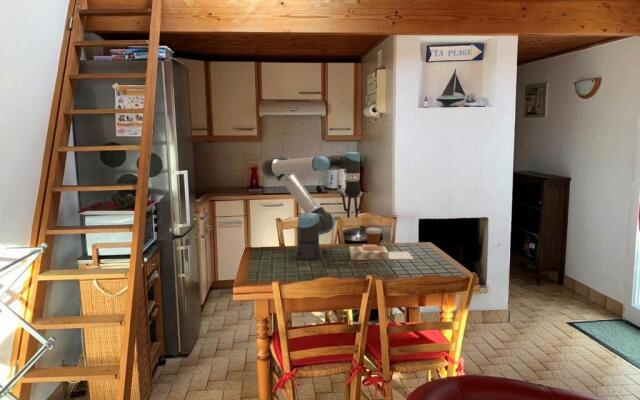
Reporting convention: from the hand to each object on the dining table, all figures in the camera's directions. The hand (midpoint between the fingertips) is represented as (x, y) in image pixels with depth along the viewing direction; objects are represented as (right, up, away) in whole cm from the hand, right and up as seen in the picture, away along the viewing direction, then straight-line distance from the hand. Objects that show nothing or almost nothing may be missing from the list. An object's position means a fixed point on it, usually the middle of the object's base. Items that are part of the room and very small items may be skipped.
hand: (352, 223), depth 262 cm
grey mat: (+26, -18, +3) cm, 32 cm away
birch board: (+9, -18, +3) cm, 21 cm away
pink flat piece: (+10, -14, +2) cm, 18 cm away
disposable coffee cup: (+14, -16, +20) cm, 29 cm away
